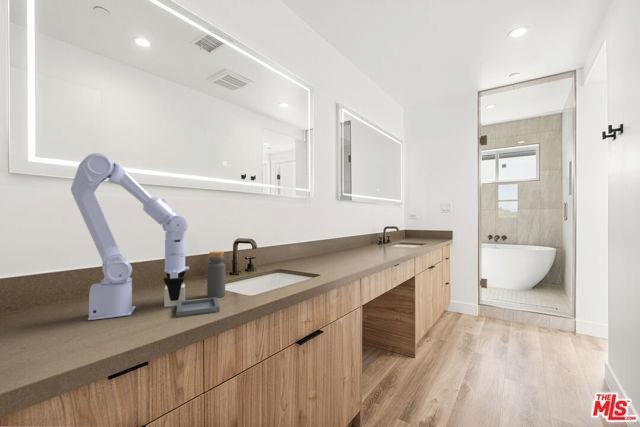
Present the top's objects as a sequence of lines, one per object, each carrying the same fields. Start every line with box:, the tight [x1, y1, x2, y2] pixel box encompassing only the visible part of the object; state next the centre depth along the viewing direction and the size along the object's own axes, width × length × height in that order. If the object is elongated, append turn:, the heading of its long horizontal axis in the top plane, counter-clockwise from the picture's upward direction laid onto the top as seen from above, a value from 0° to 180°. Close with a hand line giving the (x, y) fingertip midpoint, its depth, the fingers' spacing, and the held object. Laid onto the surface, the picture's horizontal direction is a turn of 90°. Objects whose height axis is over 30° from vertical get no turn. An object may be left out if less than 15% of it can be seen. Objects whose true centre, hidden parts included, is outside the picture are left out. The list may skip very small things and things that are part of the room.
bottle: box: [206, 250, 226, 299], centre depth 99 cm, size 6×6×15 cm
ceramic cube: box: [163, 283, 186, 308], centre depth 90 cm, size 6×6×6 cm
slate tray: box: [175, 297, 220, 318], centre depth 85 cm, size 11×11×1 cm
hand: (175, 297), depth 90 cm, fingers open, 7 cm apart
